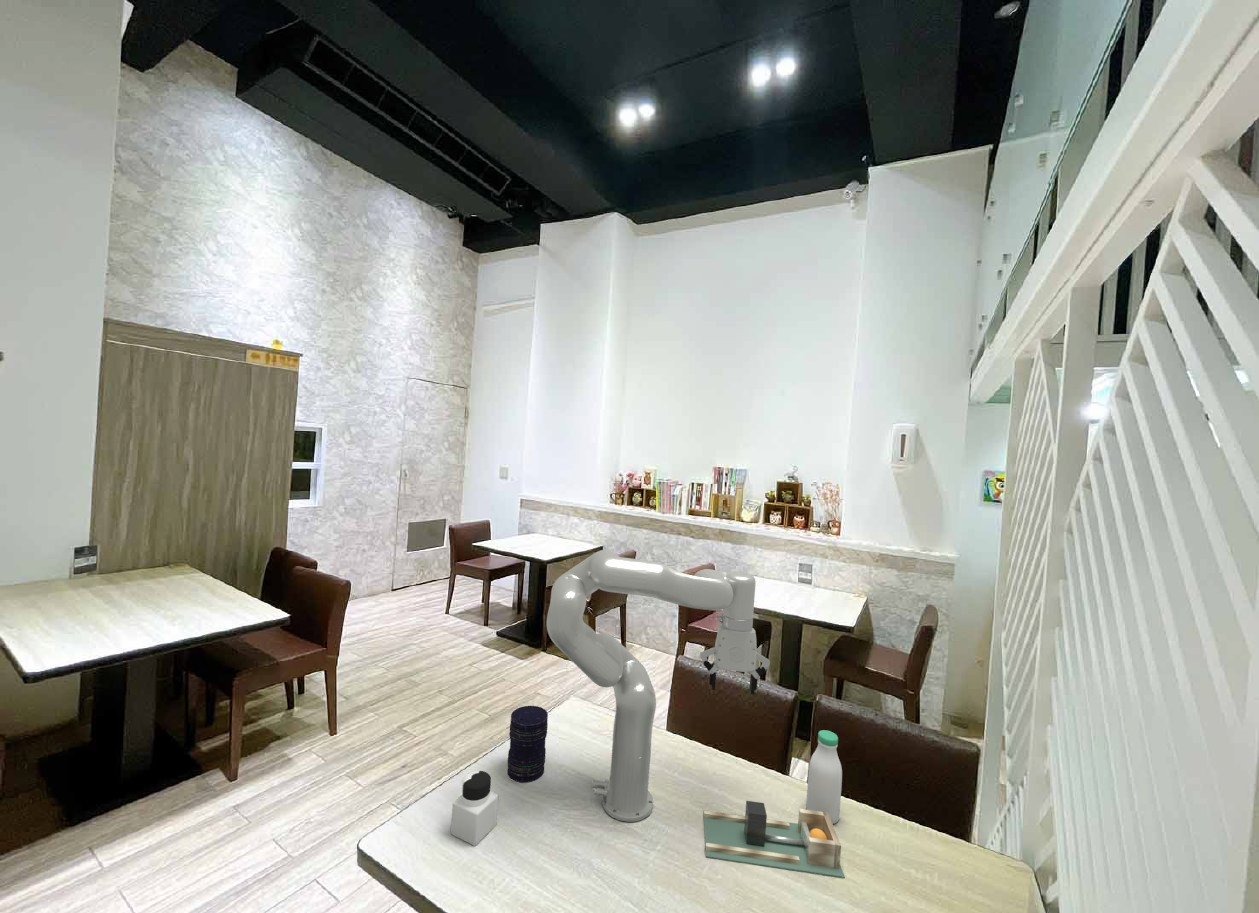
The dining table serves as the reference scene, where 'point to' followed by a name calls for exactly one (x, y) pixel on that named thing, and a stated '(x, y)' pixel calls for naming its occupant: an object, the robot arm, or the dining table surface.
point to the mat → (761, 847)
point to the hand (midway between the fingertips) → (732, 689)
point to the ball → (817, 834)
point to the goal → (821, 849)
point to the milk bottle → (825, 777)
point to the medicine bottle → (474, 808)
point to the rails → (745, 851)
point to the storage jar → (527, 744)
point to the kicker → (757, 828)
